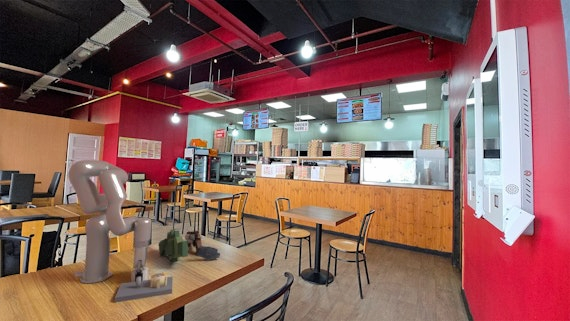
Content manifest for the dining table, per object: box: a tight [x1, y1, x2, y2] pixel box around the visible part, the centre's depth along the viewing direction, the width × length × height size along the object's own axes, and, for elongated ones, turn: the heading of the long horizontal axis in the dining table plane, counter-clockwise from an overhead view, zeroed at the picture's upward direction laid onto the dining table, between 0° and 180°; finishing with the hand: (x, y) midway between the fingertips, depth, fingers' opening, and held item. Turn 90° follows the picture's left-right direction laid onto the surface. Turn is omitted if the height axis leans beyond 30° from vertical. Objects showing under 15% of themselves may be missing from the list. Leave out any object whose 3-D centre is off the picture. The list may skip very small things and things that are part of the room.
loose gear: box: [130, 266, 150, 282], centre depth 122 cm, size 7×7×5 cm
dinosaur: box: [158, 229, 189, 263], centre depth 148 cm, size 35×12×19 cm, turn 42°
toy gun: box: [184, 229, 203, 254], centre depth 168 cm, size 5×28×15 cm, turn 37°
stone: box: [195, 245, 221, 262], centre depth 149 cm, size 14×6×10 cm, turn 130°
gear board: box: [114, 271, 174, 303], centre depth 112 cm, size 22×13×8 cm, turn 115°
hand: (140, 277), depth 122 cm, fingers open, 9 cm apart
